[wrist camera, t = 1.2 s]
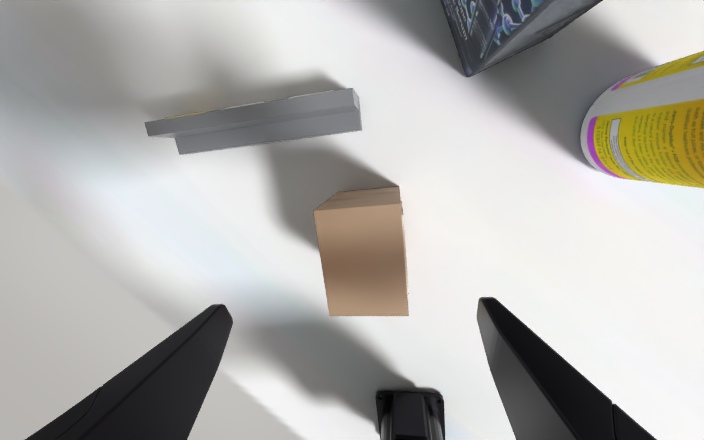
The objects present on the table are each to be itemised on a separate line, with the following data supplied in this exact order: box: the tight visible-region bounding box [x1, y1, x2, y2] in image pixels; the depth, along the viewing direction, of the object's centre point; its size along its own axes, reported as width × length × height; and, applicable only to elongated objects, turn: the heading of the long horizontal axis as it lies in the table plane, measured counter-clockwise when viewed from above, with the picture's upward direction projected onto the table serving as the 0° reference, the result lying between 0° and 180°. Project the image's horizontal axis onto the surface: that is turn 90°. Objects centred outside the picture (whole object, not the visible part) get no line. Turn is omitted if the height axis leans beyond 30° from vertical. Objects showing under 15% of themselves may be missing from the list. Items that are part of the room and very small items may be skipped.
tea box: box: [313, 186, 409, 316], centre depth 19 cm, size 7×5×7 cm
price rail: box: [145, 88, 362, 155], centre depth 20 cm, size 16×3×3 cm, turn 97°
